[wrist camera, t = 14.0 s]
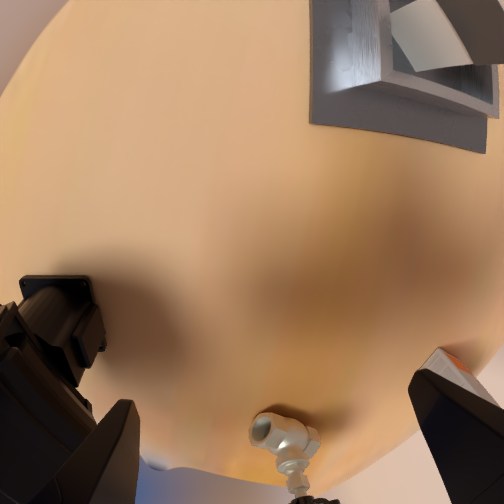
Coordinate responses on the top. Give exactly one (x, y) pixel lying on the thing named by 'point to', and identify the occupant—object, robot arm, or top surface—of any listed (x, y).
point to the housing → (392, 80)
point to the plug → (450, 32)
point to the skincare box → (456, 373)
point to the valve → (289, 451)
